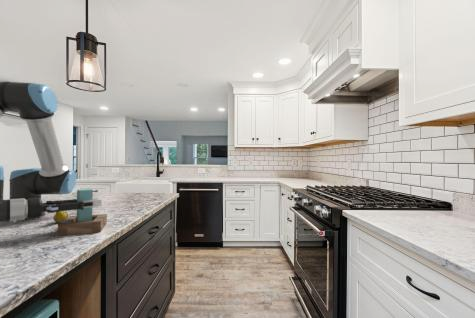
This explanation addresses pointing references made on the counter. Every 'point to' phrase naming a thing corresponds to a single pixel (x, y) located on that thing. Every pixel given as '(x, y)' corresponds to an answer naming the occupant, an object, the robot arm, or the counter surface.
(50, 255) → the counter surface
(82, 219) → the teal peg
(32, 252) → the counter surface
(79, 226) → the block
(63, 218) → the yellow grooved cone
